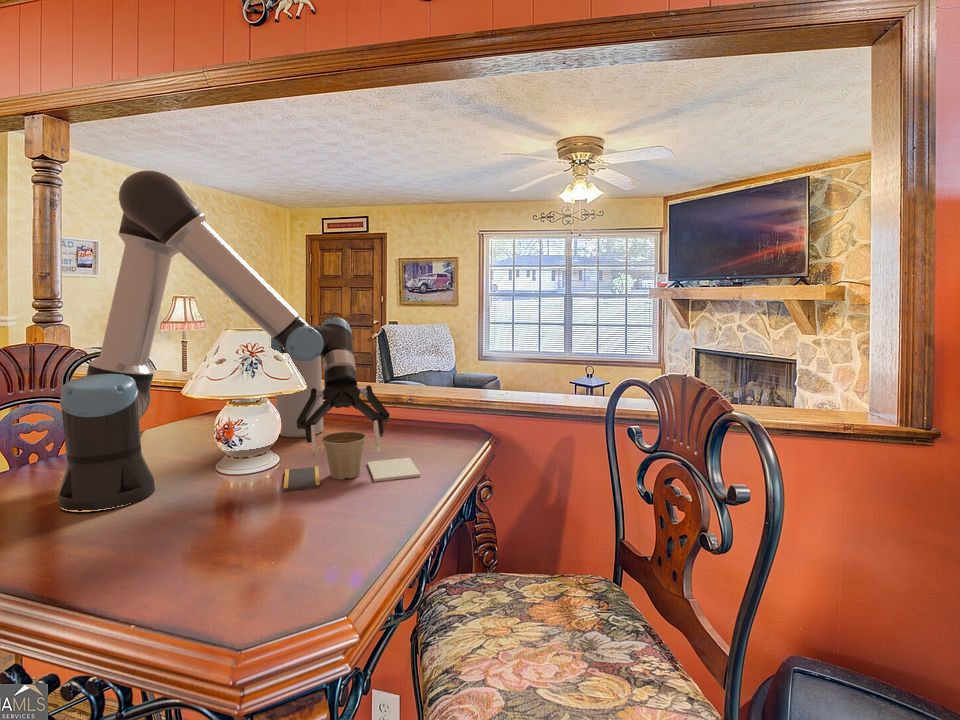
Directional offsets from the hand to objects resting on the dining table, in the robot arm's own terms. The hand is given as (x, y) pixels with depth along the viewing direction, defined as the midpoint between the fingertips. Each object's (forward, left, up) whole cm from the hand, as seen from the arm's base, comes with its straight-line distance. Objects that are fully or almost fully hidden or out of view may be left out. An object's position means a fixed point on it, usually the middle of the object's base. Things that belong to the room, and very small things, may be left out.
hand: (347, 451), depth 112 cm
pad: (+10, +1, -6) cm, 12 cm away
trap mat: (-9, +1, -6) cm, 11 cm away
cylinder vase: (-10, +42, -6) cm, 44 cm away
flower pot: (0, +1, -6) cm, 6 cm away
